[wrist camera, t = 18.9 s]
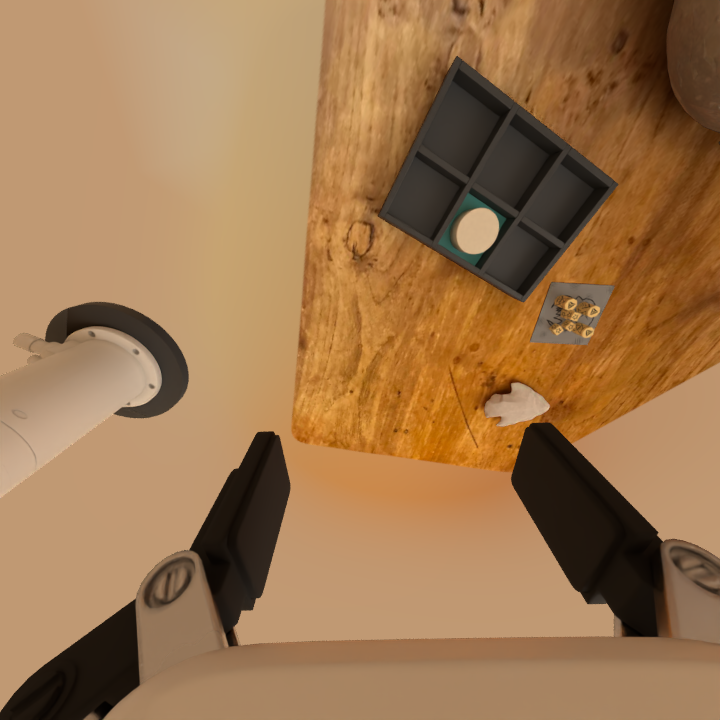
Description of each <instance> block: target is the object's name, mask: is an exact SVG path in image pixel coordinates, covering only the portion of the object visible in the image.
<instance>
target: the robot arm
mask: <svg viewBox="0 0 720 720" xmlns="http://www.w3.org/2000/svg"><path fill="white" fill-rule="evenodd" d="M13 344H14V345H15V346H17V347H19V348H22V349H25V350H28V351H30V352H35V353H38V354H40V356H38V355H33V356H31V357H29V359H28V360H27V363H28V364H29V365H26V366H24V367H21V368H19V369H16V370H14V371H11V372H9V373H6V374H4V375H1V376H0V498H1V497H2V496H4V495H5V494H6V493H8V492H9V491H10V490H12V489H13V488H14V487H16V486H17V485H18V484H20V483H21V482H22V481H24V480H25V479H26V478H28V477H29V476H30V475H32V474H33V473H35V472H36V471H37V470H38V469H40V468H41V467H43V466H44V465H45V464H47V463H48V462H49V461H51V460H52V459H53V458H55V457H56V456H57V455H59V454H60V453H61V452H63V451H64V450H65V449H67V448H68V447H69V446H71V445H72V444H73V443H75V442H76V441H78V440H79V439H80V438H81V437H83V436H84V435H85V434H87V433H88V432H90V431H91V430H92V429H94V428H95V427H96V426H97V425H99V424H100V423H102V422H103V421H104V420H106V419H107V418H108V417H110V416H111V415H112V414H114V413H115V412H116V411H118V410H119V409H120V408H122V407H134V406H139V405H142V404H145V403H147V402H148V401H149V400H151V399H152V398H153V397H154V396H155V395H157V393H158V391H159V390H160V387H161V383H162V376H161V371H160V368H159V366H158V364H157V362H156V360H155V359H154V357H153V355H152V354H151V353H150V352H149V351H148V350H147V348H145V347H144V346H143V345H142V344H141V343H140V342H139V341H137V340H136V339H134V338H133V337H131V336H129V335H127V334H125V333H123V332H121V331H118V330H115V329H112V328H108V327H102V326H92V327H87V328H83V329H81V330H78V331H75V332H74V333H72V334H71V335H69V336H68V337H67V339H66V340H65V342H64V343H63V344H60V343H58V342H50V343H49V342H46V341H44V340H43V339H41V338H38V337H36V336H33V335H30V334H28V333H22V334H19V335H18V336H17V337H15V339H14V341H13ZM511 481H512V485H513V487H514V489H515V491H516V492H517V494H518V496H519V497H520V499H521V501H522V502H523V504H524V506H525V507H526V509H527V511H528V513H529V514H530V516H531V518H532V519H533V521H534V523H535V524H536V526H537V528H538V529H539V531H540V533H541V534H542V536H543V537H544V540H545V541H546V543H547V544H548V546H549V548H550V549H551V551H552V553H553V555H554V556H555V558H556V560H557V561H558V563H559V565H560V566H561V568H562V570H563V571H564V573H565V575H566V577H567V578H568V580H569V581H570V583H571V585H572V586H573V588H574V589H575V590H577V591H578V592H580V593H581V594H582V596H583V598H584V599H585V601H586V602H587V604H606V603H607V604H608V605H609V607H610V608H611V610H612V612H613V613H614V637H526V638H525V637H522V638H521V637H520V638H519V637H518V638H457V639H456V638H452V639H396V640H352V641H351V640H349V641H310V642H309V641H308V642H287V643H264V644H251V645H243V646H241V645H240V642H239V639H238V635H237V632H236V629H235V625H236V624H237V623H238V620H239V617H240V614H241V611H242V610H253V607H254V604H255V600H256V598H260V597H261V595H262V593H263V590H264V586H265V583H266V579H267V575H268V572H269V568H270V564H271V561H272V556H273V553H274V549H275V545H276V542H277V538H278V534H279V531H280V527H281V523H282V520H283V516H284V512H285V508H286V505H287V501H288V497H289V493H290V480H289V476H288V472H287V468H286V463H285V459H284V455H283V450H282V446H281V441H280V437H279V435H275V433H274V432H258V433H257V434H256V435H255V437H254V439H253V441H252V443H251V445H250V447H249V449H248V451H247V453H246V455H245V457H244V459H243V461H242V463H241V465H240V467H239V469H234V470H233V471H232V472H231V473H230V475H229V477H228V478H227V480H226V482H225V484H224V486H223V488H222V490H221V492H220V493H219V496H218V497H217V499H216V501H215V503H214V505H213V507H212V508H211V510H210V513H209V514H208V516H207V518H206V520H205V522H204V523H203V525H202V527H201V529H200V531H199V533H198V535H197V537H196V538H195V540H194V542H193V544H192V546H191V548H190V550H189V551H188V550H184V551H180V552H176V553H174V554H172V555H170V556H168V557H166V558H165V559H164V560H162V561H161V562H159V563H158V564H157V565H156V566H155V567H154V568H153V569H152V570H151V571H150V572H149V573H148V574H147V576H146V578H145V579H144V580H143V582H142V583H141V585H140V588H139V590H138V593H137V596H136V599H135V600H133V601H132V602H130V603H129V604H128V605H126V606H125V607H124V608H122V609H121V610H119V611H118V612H117V613H115V614H114V615H113V616H111V617H110V618H108V619H107V620H106V621H104V622H103V623H102V624H100V625H99V626H98V627H96V628H95V629H93V630H92V631H91V632H89V633H88V634H87V635H85V636H84V637H82V638H81V639H80V640H78V641H77V642H75V643H74V644H73V645H71V646H70V647H69V648H67V649H66V650H65V651H63V652H62V653H60V654H59V655H58V656H56V657H55V658H54V659H52V660H51V661H49V662H48V663H47V664H45V665H44V666H43V667H41V668H40V669H39V670H38V671H37V672H35V673H34V674H33V675H32V676H31V677H29V678H28V679H27V681H26V682H25V683H24V684H23V685H22V686H21V687H20V688H19V689H18V690H17V691H16V692H15V693H14V694H13V696H12V697H11V698H10V700H9V701H8V702H7V704H6V705H5V706H4V708H3V709H2V710H1V712H0V720H720V559H719V558H718V557H716V556H715V555H713V554H712V553H710V552H709V551H707V550H705V549H703V548H701V547H699V546H697V545H695V544H692V543H689V542H686V541H683V540H677V539H669V540H665V541H664V542H663V541H662V540H661V539H660V538H659V537H658V536H657V534H658V531H656V529H655V528H653V527H652V526H651V524H650V523H649V522H648V521H647V520H646V519H645V518H644V517H643V516H642V515H641V514H640V513H639V512H638V511H637V510H636V509H635V508H634V507H633V506H632V505H631V504H630V503H629V502H628V501H627V500H626V499H625V498H624V497H623V496H622V495H621V494H620V493H619V492H618V491H617V490H616V489H615V488H614V487H613V486H612V485H611V484H610V483H609V482H608V481H607V480H606V479H605V478H604V477H603V475H602V474H601V473H599V471H598V470H597V469H596V468H595V467H594V466H593V465H592V464H591V463H590V462H589V461H588V460H587V459H586V458H585V457H584V456H583V455H582V454H581V453H580V452H579V451H578V450H577V449H576V448H575V447H574V446H573V445H572V444H571V443H570V442H569V441H568V440H567V439H566V438H565V437H564V436H563V435H562V434H561V433H560V432H559V431H558V430H557V429H556V428H555V427H554V426H553V425H552V424H551V423H532V424H530V426H529V427H527V428H526V429H525V432H524V436H523V439H522V442H521V446H520V449H519V453H518V456H517V459H516V463H515V466H514V470H513V473H512V477H511Z"/></svg>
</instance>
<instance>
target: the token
mask: <svg viewBox="0 0 720 720" xmlns="http://www.w3.org/2000/svg"><path fill="white" fill-rule="evenodd" d="M498 232H499V222H498V219H497V216H496V215H495V214H494V212H492V211H491V210H489V209H487V208H475V209H470V210H466V211H464V212H462V213H461V214H460V215H459V216H457V218H456V219H455V220H454V222H453V224H452V226H451V229H450V240H451V243H452V245H453V246H454V248H455V249H457V250H458V251H460V252H463V253H468V254H479V253H482V252H484V251H486V250H487V249H488V248H490V247H491V245H492V244H493V243H494V241H495V240H496V238H497V235H498Z"/></svg>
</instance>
